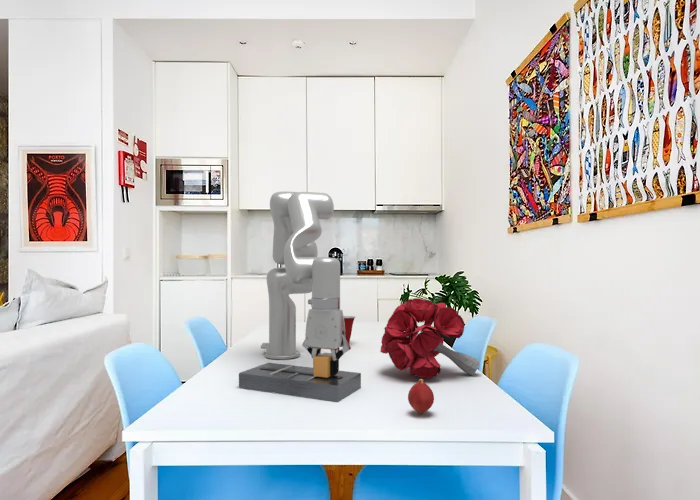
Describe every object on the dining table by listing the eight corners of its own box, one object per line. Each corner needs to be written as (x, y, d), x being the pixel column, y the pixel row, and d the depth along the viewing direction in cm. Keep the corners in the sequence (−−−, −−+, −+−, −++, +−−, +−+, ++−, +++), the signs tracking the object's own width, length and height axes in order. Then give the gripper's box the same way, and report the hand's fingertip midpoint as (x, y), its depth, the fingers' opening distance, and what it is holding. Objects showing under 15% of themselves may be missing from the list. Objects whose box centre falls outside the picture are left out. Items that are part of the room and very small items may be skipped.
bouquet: (448, 386, 156) (368, 341, 155) (485, 324, 155) (405, 278, 154) (463, 412, 134) (370, 360, 134) (506, 341, 133) (413, 287, 133)
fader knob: (313, 375, 125) (313, 355, 125) (324, 370, 130) (324, 351, 130) (327, 377, 123) (327, 357, 123) (338, 372, 128) (338, 352, 129)
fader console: (238, 387, 130) (238, 371, 130) (268, 376, 143) (268, 361, 143) (337, 402, 117) (337, 384, 117) (360, 387, 130) (360, 371, 130)
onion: (405, 410, 111) (405, 375, 111) (430, 409, 112) (430, 375, 112) (411, 418, 105) (411, 382, 105) (436, 418, 106) (436, 381, 106)
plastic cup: (355, 342, 198) (355, 313, 198) (355, 347, 187) (355, 317, 187) (329, 342, 198) (329, 313, 198) (327, 347, 187) (327, 316, 187)
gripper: (291, 304, 127) (291, 373, 127) (348, 307, 120) (348, 380, 120) (305, 302, 134) (305, 367, 134) (360, 304, 127) (360, 373, 127)
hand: (325, 373), depth 127 cm, fingers closed on fader knob, 4 cm apart
